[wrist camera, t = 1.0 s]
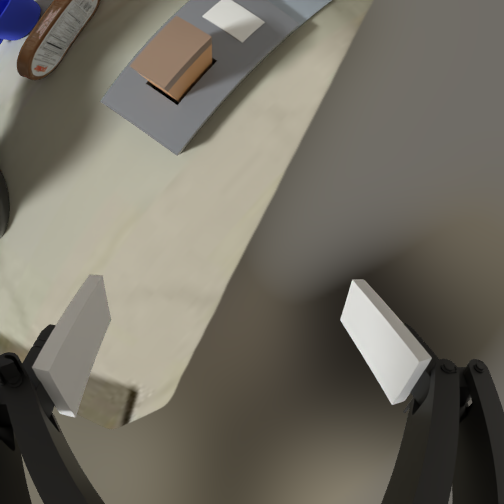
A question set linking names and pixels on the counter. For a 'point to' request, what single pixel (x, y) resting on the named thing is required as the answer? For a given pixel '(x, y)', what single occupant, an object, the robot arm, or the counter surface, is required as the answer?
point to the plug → (176, 58)
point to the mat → (300, 8)
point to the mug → (17, 18)
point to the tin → (53, 36)
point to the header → (214, 80)
